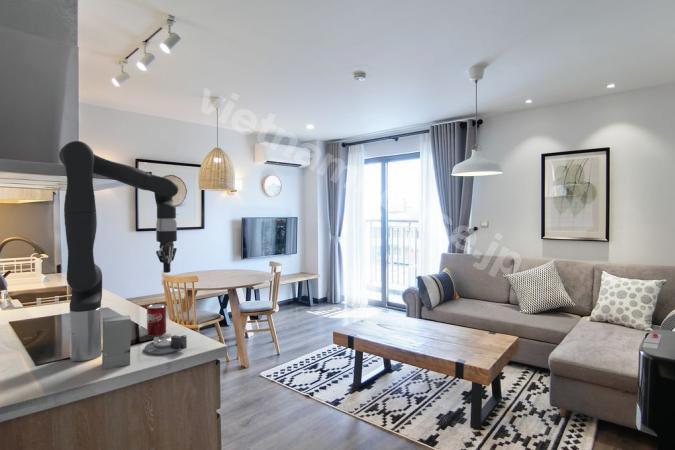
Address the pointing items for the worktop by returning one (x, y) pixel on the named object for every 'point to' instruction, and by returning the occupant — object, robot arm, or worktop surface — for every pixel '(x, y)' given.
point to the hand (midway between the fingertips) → (167, 272)
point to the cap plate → (160, 350)
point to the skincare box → (116, 341)
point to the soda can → (156, 320)
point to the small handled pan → (170, 341)
